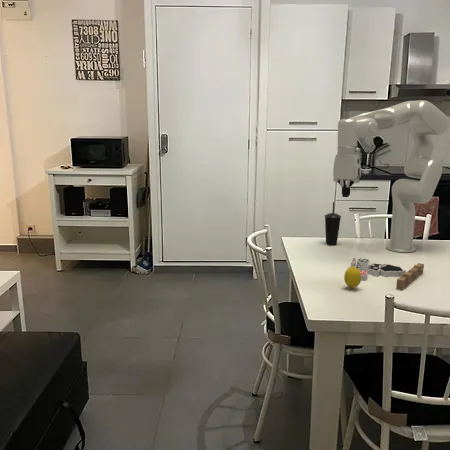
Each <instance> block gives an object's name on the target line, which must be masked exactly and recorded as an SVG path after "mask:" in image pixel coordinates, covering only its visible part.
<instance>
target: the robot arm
mask: <svg viewBox="0 0 450 450" xmlns="http://www.w3.org/2000/svg"><path fill="white" fill-rule="evenodd" d="M406 123H409V125H408V127H409V130H410V132H411V133H410V134H411V136H412V139H413V144H412V148H411V150H410V153H409V155H408V158H407V160H406V162H405V165H404V167H403V168H404V169H403V170H404V172H403V173H404V175H405V176H407V177H410V178H414V179H410V178H400V179H397V180H395V182H394V183H393V184H392V186H391V197H392V212H391V224H390V235H389V236H390V237H389V243H387V244H386V245H385V248H386V249H387V250H389V251H391V252H396V253H413V252H416V250H417V249H416V246H415V245H413V243H414V231H415V223H416V222H415V220H416V207H415V204H420V205H421V204H427V203H429V202H430V201H431V200H432V197H433V196H434V193H435V192H436V191H435V190H436V189H437V187H438V184H439V181H440V179H441V177H442V174H443V173H442V172H443V163H442V161H441V160H440V159H439V158H437V157H435V156H434V157H432V154H433V152H434V141H433V140H432V138H431V136H439V135H440V136H441V135H443V134H445V133H446V132H447V131H448V129H449V128H450V127H449V126H450V121H449V118H448V116H447V115H446V114H445V113H444V112H443V111H442V110H441V109H439V108H438V107H437V106H436V105H434V103H431V102H430V101H428V100H420V99H419V100H407V101H403V102H400V103H396V104H395V105H391V106H389V107H385V108H382V109H377V110H374V111H370V112H368V111H367V112H364V113H361V114H357V115H354V116H352V117H349V118H343V119H339V120H338V122H337V146H336V147H337V149H336V151H337V152H336V154H335V157H334V161H333V168H332V173H333V174H332V177H333V182H334V183H338V185H339V186H340V187H341V195H342V197H343V198H348V197H350V196H351V188H352V186H353V185H354V184H358V183H360V178H361V174H362V173H361V171H362V170H361V168H362V167H361V158H360V154H359V152H361V148H359V147H358V138H359V137H360V138H369V137H373V136H374V135H375V134H376V133H377V132H378V131H379V130H390V129H393V128H396V127H399V126H401V125H404V124H405V125H406ZM417 179H420V180H417Z"/></svg>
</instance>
